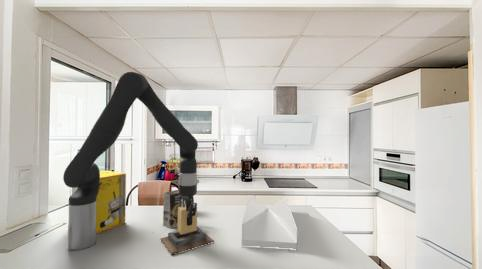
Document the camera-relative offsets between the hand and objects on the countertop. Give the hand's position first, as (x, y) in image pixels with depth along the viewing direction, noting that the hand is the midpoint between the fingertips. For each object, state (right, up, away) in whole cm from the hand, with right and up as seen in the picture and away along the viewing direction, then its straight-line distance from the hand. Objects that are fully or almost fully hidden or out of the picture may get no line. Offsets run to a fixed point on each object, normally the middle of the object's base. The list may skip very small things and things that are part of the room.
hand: (187, 223), depth 96 cm
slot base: (0, -8, 0) cm, 8 cm away
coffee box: (-11, -8, +18) cm, 22 cm away
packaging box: (-46, -7, +14) cm, 49 cm away
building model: (+36, -9, +18) cm, 41 cm away
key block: (0, -3, 0) cm, 3 cm away
